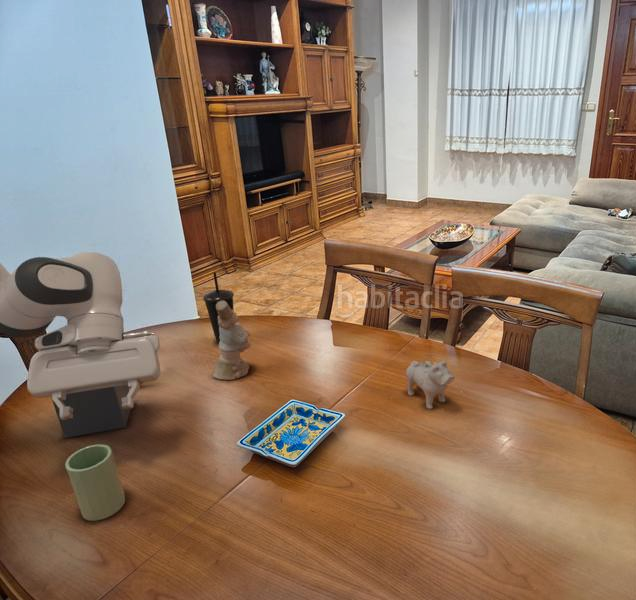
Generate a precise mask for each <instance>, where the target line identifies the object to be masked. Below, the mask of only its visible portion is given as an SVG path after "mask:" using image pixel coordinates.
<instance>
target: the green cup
mask: <svg viewBox="0 0 636 600" xmlns="http://www.w3.org/2000/svg"><path fill="white" fill-rule="evenodd" d="M64 468H65V469H66V470H65V471H66V472H67V475H68V479H69V482H70V484H71V487H72V490H73V494H74V497H75V499H76V502H77V505H78V507H79V510H80V513H81V516H82V519H85V520H86V521H90V522H95V521H101V520H104V519H107V518H109V517H111V516H113V515H115V514H116V513H117V512H119V511H120V510H121V509H122V508H123V506H124V504H125V502H126V496H125V490H124V488H123V484H122V481H121V478H120V474H119V470H118V467H117V464H116V460H115V457H114V453H113V450H112V448H111V446H110V445H107V444H101V443H100V444H92V445H88V446H84V447H82V448H79V449H78V450H76V451H75V452H72V453H71V455H70V456H69V457H67V458H66V460H65V462H64Z"/></svg>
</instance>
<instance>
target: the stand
mask: <svg viewBox="0 0 636 600" xmlns="http://www.w3.org/2000/svg"><path fill="white" fill-rule="evenodd" d="M129 391H130V387H129V386H128V384H127V385H120V386H114V387H108V388H102V389H95V390H89V391H83V392H76V393H70V394H66V400H62V401H63V403H64V404H65V406H66V407H68V406H70V407H71V408H73V413H72V414H73V418H70V419H65V420H62V419H60V408H59V407H58V406H57V405H56V403H55V402H54V401H53V399H52V396H51V397H50V399H51V401H52V404H53V407H54V410H55V413H56V416H57V420H58V422H59V426H60V428H61V431H62V434H63V437H64V439H69V438H73V437H79V436H86V435H90V434H95V433H101V432H107V431H111V430H112V431H113V430H118V429H124V428H126V426H127V423H128V420H129V416H130V413H131V410H132V408H129V409H124V408H122V403H123V402H122V398H123V397H127V395H128V393H129Z"/></svg>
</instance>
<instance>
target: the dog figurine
mask: <svg viewBox="0 0 636 600" xmlns="http://www.w3.org/2000/svg"><path fill="white" fill-rule="evenodd" d="M405 377H406V379H407V380H406V381H407V395H409V396H414V395H415V394H416V393H415V392H414V390H413V388H414V386H415V385H417V386H418V387H419V388H420V389H421V390H422V392H423V394H424V395H425V404H426V405H425V406H426V407H425V408H427V409H429V410H430V409H433V408H434V406H433V401H434V397H435V396H438V398H437V399H438V401H439V402H441V403H444V402H446V398H445V391H446V390H447V388H448V386H449V384H452V383H453V381H454V380H455V376H454V375H453V374H452V373H451V370H450V369H449V368H448V366H447V361H446V360H443V361H442V360H441V361H440V362H435V363H434V364H433V363H432V361H430V360H426V361H424V363H423V362H419V361H418V360H412V361H411V363H410V365H409V366H408V367H407V369H406V371H405Z"/></svg>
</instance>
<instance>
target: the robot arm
mask: <svg viewBox="0 0 636 600" xmlns="http://www.w3.org/2000/svg"><path fill="white" fill-rule="evenodd" d="M123 301H124V300H123V285H122V277H121V273H120V270H119V267H118V265H117V263H116V262H115V261H114V260H113V259H112V258H111V257H109V256H107V255H105V254H103V253H100V252H95V251H82V252H78V253H75V254H74V255H72V256H68V257H59V258H52V257H46V256H37V257H31V258H29V259H26V260H25V261H23V262H22V263H21V264H19V265H18V266H17V267H16V268H15V269H14V271H13V272H11V273H10V272H9V271H8V270H7V268H6V267H4V265H3V264H2V263H1V262H0V333H1V334H4V335H5V336H9V337H13V338H19V339H20V338H21V339H22V338H31V337H35V336H38V335H40V334H41V333H43V332H45V331H46V330H47V329H48V328H49V326H50V325H51V323H53V321H54V320H55V318H56V317H63V318H65V319H66V321H67V324H66V325H64V326H62V327H59V328H58V329H55V330H53V331H50V332H48V333H45V334H43V335H40V336H38V337H36V339H35V340H34V348H35V349H36V350H37V352H36V353H34V355H32V357H31V359H30V362H29V366H28V373H27V382H26V387H27V391H28V392H29V394H31V395H32V396H33V397H36V398H37V399H44V398H51V396H52V398H51V400H52V399H53V401H54V402H55V403H56V405H57V406H58V407H59V408H60V419H62V420H65V419H70V418H73V414H72V413H73V408H71V407H70V406H68V407H66V406H65V404H64V403H63V401H62V400H66V394H70V393H76V392H83V391H89V390H95V389H102V388H108V387H114V386H120V385H127V384H128V388H129V393H128V395H127V397H123V398H122V402H123V403H122V408H124V409H129V408H131V409H133V408H134V406H135V405H134V399H135V398H136V396H137V394H138V392H139V391H140V389H141V387H140V386H141V385H140V384H141V383H144V382H151V381H156V380H157V379H159V377H160V376H161V374H162V373H161V364H160V359H159V356H158V351H159V350H160V347H161V345H160V337H159V336H158V334H156V333H155V332H151V331H150V330H144V331H140V332H139V331H138V332H128V333H127V332H126V333H125V330H124V329H125V328H124V325H125V324H124V317H123V314H122V310H121V309H122V304H123ZM53 401H52V402H53Z"/></svg>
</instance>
